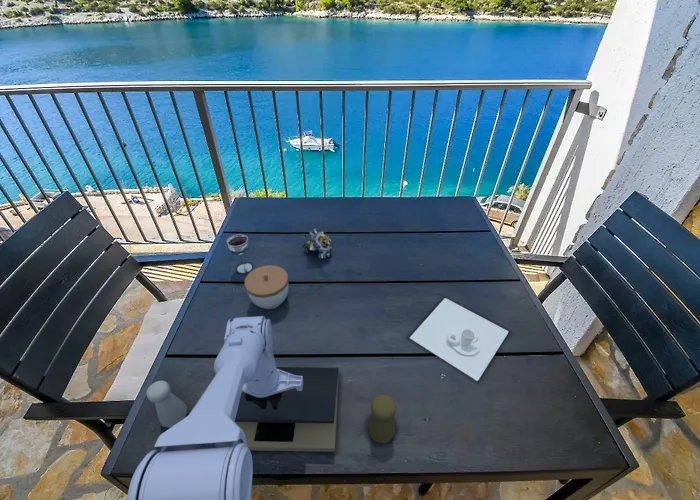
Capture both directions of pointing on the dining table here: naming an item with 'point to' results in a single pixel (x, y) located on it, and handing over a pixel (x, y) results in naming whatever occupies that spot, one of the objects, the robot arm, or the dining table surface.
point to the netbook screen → (298, 400)
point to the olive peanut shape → (382, 419)
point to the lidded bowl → (267, 286)
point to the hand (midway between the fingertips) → (270, 404)
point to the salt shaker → (166, 404)
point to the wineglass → (239, 250)
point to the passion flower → (319, 244)
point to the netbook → (291, 435)
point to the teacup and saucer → (460, 337)
